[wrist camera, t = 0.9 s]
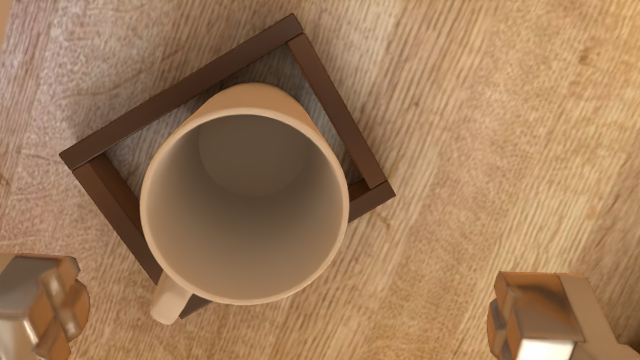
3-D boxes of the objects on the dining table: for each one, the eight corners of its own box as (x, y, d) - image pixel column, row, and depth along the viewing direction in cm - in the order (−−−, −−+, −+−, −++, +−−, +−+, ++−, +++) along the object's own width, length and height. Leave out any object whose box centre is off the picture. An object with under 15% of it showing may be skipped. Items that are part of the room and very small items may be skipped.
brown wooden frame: (74, 144, 29) (57, 154, 26) (291, 13, 28) (293, 12, 26) (187, 298, 31) (181, 320, 29) (386, 183, 31) (396, 195, 28)
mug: (239, 48, 28) (220, 61, 17) (342, 126, 30) (391, 187, 18) (130, 202, 30) (43, 311, 18) (233, 268, 31) (214, 408, 20)
